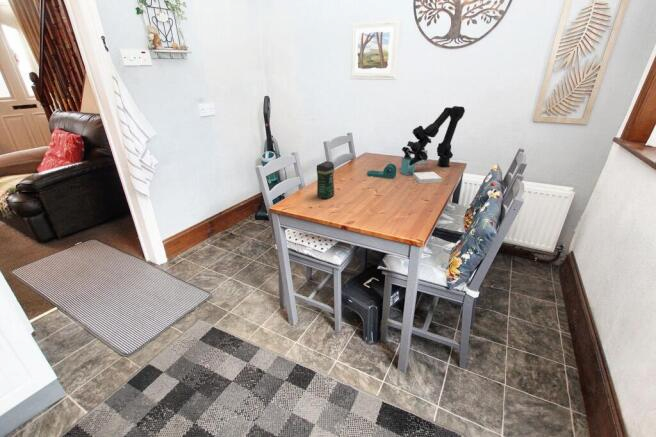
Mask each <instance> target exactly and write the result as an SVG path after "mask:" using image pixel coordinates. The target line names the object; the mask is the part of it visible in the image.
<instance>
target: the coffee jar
mask: <svg viewBox="0 0 656 437" xmlns="http://www.w3.org/2000/svg"><path fill="white" fill-rule="evenodd" d="M334 172H335V164H334V163H333V162H332V161H330V160H329V161H328V160H327V161H323V162H321V163H319V164H317V165H316V175H317V181H316V183H317V187H316V188H317V190H316V196H317V197H318V198H319V197H321V198H320V199H322V198H324V199H327V198H328V199H330V198H332V197H333V196H334V195H335V184H334V181H335V179H334V174H335V173H334Z"/></svg>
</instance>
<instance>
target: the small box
mask: <svg viewBox="0 0 656 437" xmlns="http://www.w3.org/2000/svg"><path fill="white" fill-rule="evenodd" d="M422 151H423V152H425V153H426V154H427V155H428V151H429V150H428V148H426V147H425V150H422ZM413 155H414V154H413ZM414 157H415V155H414V156H413V158H414ZM427 160H428V159H427ZM427 160H423V159H422V160H421V161H419V162H416V163H415V165H427V162H428V161H427Z"/></svg>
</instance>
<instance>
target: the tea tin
mask: <svg viewBox="0 0 656 437" xmlns="http://www.w3.org/2000/svg"><path fill="white" fill-rule="evenodd" d="M413 158H414V157H412V156H411V157H405V158H404V157H402V158H401V164H400V174H402V175H405V176H410V175H411V176H412V175H413V173H415V169H416V168H415V167H416V164H415V163H414V164H413V165H410V163H411V161H412V160H413Z"/></svg>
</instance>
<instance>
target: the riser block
mask: <svg viewBox="0 0 656 437" xmlns="http://www.w3.org/2000/svg"><path fill="white" fill-rule="evenodd" d="M412 177H413V178H414V179H415V180H416V181H417V183H419V184H430V183H431V184H433V183H442V179H443V178H442V177H441V176H440V175H438V174H437V173H436V172H435V171H423V172H421V171H420V172H419V171H418V172H414V173H413V174H412Z"/></svg>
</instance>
